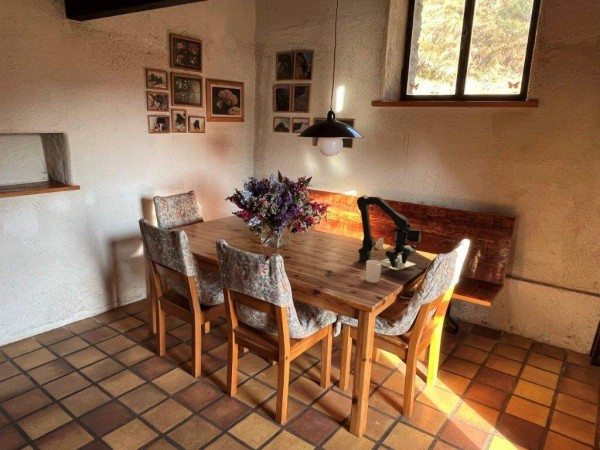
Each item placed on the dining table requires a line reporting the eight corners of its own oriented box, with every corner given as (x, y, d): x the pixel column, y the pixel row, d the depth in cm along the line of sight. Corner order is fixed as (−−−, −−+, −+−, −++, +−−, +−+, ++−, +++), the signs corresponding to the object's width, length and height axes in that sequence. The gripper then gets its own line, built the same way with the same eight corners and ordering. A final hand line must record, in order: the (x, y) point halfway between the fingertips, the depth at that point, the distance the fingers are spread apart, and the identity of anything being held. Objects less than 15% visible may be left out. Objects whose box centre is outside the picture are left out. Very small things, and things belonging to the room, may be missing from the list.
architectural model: (374, 249, 279) (375, 238, 277) (378, 247, 284) (379, 236, 282) (378, 250, 277) (379, 239, 275) (383, 248, 282) (384, 237, 280)
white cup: (378, 277, 227) (379, 259, 224) (381, 283, 219) (383, 264, 217) (363, 277, 226) (365, 259, 224) (366, 283, 219) (367, 264, 216)
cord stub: (401, 269, 238) (401, 264, 237) (387, 264, 245) (388, 260, 245) (404, 268, 240) (404, 263, 239) (391, 263, 247) (391, 259, 246)
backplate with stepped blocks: (396, 271, 236) (397, 265, 235) (381, 266, 245) (381, 259, 244) (415, 265, 248) (416, 259, 247) (400, 260, 256) (401, 254, 255)
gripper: (402, 245, 226) (399, 273, 229) (423, 240, 237) (420, 267, 241) (385, 241, 234) (383, 267, 238) (406, 236, 245) (404, 261, 249)
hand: (398, 266), depth 241 cm, fingers open, 9 cm apart
